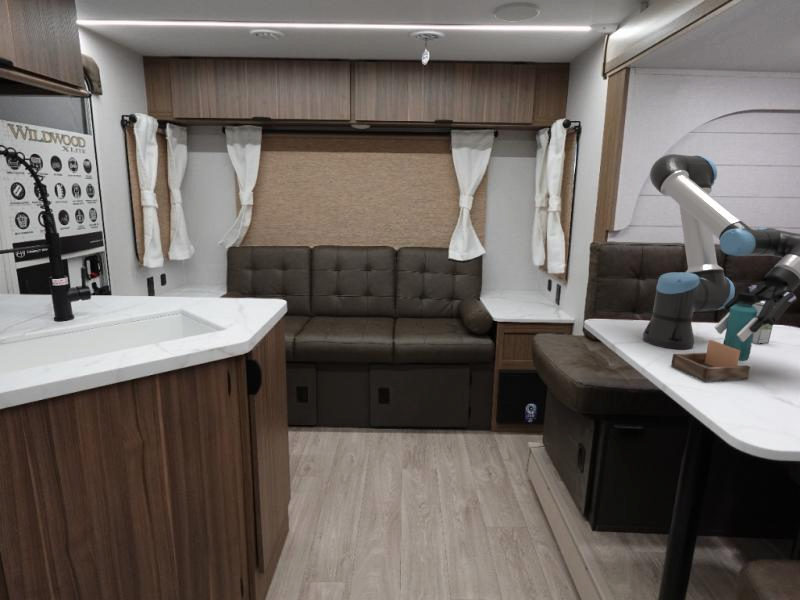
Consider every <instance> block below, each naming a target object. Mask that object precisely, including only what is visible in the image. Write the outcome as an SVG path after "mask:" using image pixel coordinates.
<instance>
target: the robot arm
mask: <svg viewBox="0 0 800 600" xmlns="http://www.w3.org/2000/svg"><path fill="white" fill-rule="evenodd" d="M717 176H718V169H717V166H716V164H715V163H714V162H713V161H712V160H711V159H710V158H708V157H703V156H701V155H687V154H675V153H671V154H666V155H663V156H662V157H660V158H658V159H657V160H656V161H655V162H654V163H653V165H652V166H651V168H650V172H649V178H650V181H651V184H652V186H653V187H654V188H655V189H656V190H657V191H658V192H659V193H660V194H662V195H663V196H664V197H671V199H672V200H673V201H675V202H676V203H677V205H679V211H680V212H679V213H680V220H681V227H682V233H683V242H684V248H685V249H684V250H685V257H686V262H687V270H685V271H684V272H681V271H680V272H676V271H674V272H666V273H663V274H661V275H660V276H658V280H657V284H656V287H655V289H656V290H655V297H654V303H653V308H652V316H651V318H650V320H649V322H648V324H647V326H646V328H645V329H644V331H643V335H642V340H643V341H644V342H646V343H649V344H651V345H654V346H658V347H661V348H667V349H675V350H689V349H692V348H693V347H694V345H695V344H694V343H695V335H694V332H693V330H694V329H693V325H692V321H693V315H694V312H697V313H698V312H714V311H718V310H722V309H725V310H726V311H727V312H725V314H723V316H722V317H721V318H720V321H719V322H718V323H717V324H715V326H714V329H715V330H716V332H717V333H718V334H719V335H722V334H723V333H724V332H725V331H726V329H727V325H728V319H729V314H730V307H732V306H733V305H735V304H747V305H751V306H752V305H753V304H755V303H759V302H761V301H765V303H764V305H763V307H762V309H761V311H760V314H759V316H757V318H758V319H756V318H753V319H752V320H751V321H750V322H749V323H748V324H747V325H746V326H745V327H744V328H743V329H742V330H741V331H740V332H739V333H738V334H737V336H738V337H739V339H740V340H741V341H742V342H744V341H745V340H746V339H747V338H748V337H749V336H750V335H751V334H752V333H753V332H754V333H755V332H757V331H758V330H759V329H760V328H761V327H762V326H763V325H765V324H770V325H773V326H774V325H775V324H776V323H777V321H779V319H780V318H781V317H782V315H784V313H785V311H787V309H788V308H789V307H790V306H792V304H794V303H796V302H797V301H798V299H797V296H796V295H795V293H794V291H795V290H796V289H797V288H798V286H800V233H799V232H798V233H796V232H791V231H786V230H782V229H780V230H779V229H776V228H773V227H772V228H770V227H759V228H757V229H756V228H755V229H753V228H751V227H750V226H748V225H747V224H746V223H745V222H744V221H742V220H741V219H740V218H739V217H737V216H736V215H735V214H734V213H733V212H732V211H730V210H729V209H728V208H727V207H726V206H724V205H723V204H721V203H720V202H719V201H718V200H716V199H715V198H714V197H713V196H712V195H711V194H710V193H712V191H713V189H712V187H713V186H714V184H715V181H716V180H717ZM714 237H715V238H717V239H718V240H719V243H718V244H719V247H720V250H721V251H722V252H723V253H724V254H726V255H728V256H734V257H751V256H752V257H753V256H759V257H760V256H763V257H765V256H771V257H772V256H773V257H778V258H781V259H780V260H779V261H777V263H776V264H775V265H774V266H773V267H772V268H771V269H770V270H769V271H768V272H767V273H766V274H765V275H764V278H763V280H762V281H761V282H760V283H758V284H756V285H755V284H752V283H750V282H748V283H746V284H745V286H743V289H741V290H740V291H739V292H738V293H740V292H745V293H751V294H754V295H755V302H742V301H738V300H736V299H737V296H738V293H736V292H735V291H736V288H735V285H734V283H733V282H732V280H730V278H728V277H727V276H725V272H724V271H725V270H724V268H723V267H721V266H720V265H718V261H717V254H716V247H715V239H714ZM735 293H736V295H735ZM774 306H775V307H774Z"/></svg>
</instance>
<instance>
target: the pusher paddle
mask: <svg viewBox="0 0 800 600" xmlns="http://www.w3.org/2000/svg"><path fill="white" fill-rule="evenodd" d="M740 351H741V350H738V349H735V348H732V347H730V346H727V345H724V344H723V343H722V342H718V341H716V340H713V339H709V340H708V343H707V348H706V352H705V353H706V357H705V362H704V363H706V364H708V365H710V366H713V367H727V366H739V364H738V363H739V362H740V361H739V356H740Z"/></svg>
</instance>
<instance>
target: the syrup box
mask: <svg viewBox="0 0 800 600" xmlns="http://www.w3.org/2000/svg"><path fill="white" fill-rule="evenodd" d="M764 303H765V301H761V302H759V303H755V304H753V305H752V306H754V307H755V308H756V309H757V311H758V312H757V316H759V314H760V311H761V309H762V307H763V305H764ZM774 307H775V306H774ZM757 316H756V319H758V318H757ZM773 326H774V325H770V324H765V325H763V326H762V327H761V328H760V329H759V330H758V331H757V332H755V333H753V335H754V336H753V338H752V339H753V340H752V342H753V344H755V343H756V344H755V345H761V344H760V343H765V344H769V343H770V339H771V335H772V330H773Z"/></svg>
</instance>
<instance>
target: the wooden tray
mask: <svg viewBox="0 0 800 600" xmlns="http://www.w3.org/2000/svg"><path fill="white" fill-rule="evenodd" d="M705 357H706V352H689V353H673V354H672V359H671V364H670V367H671V368H674V369H676V370H678V371H679V372H682V373H684V374H686V375H689V376H690V377H692V376H693V378H694V377H695V378H694V379H697V380H699V381H701V382H704V383H716V382H717V383H719V382H720V381H721V382H736V381H748V380H749V379H748V378H749V375H750V370H751V366H749V365H737V366H727V367H713V366H710V365H708V364H706V363H704V362H705ZM721 382H720V383H721Z"/></svg>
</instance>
